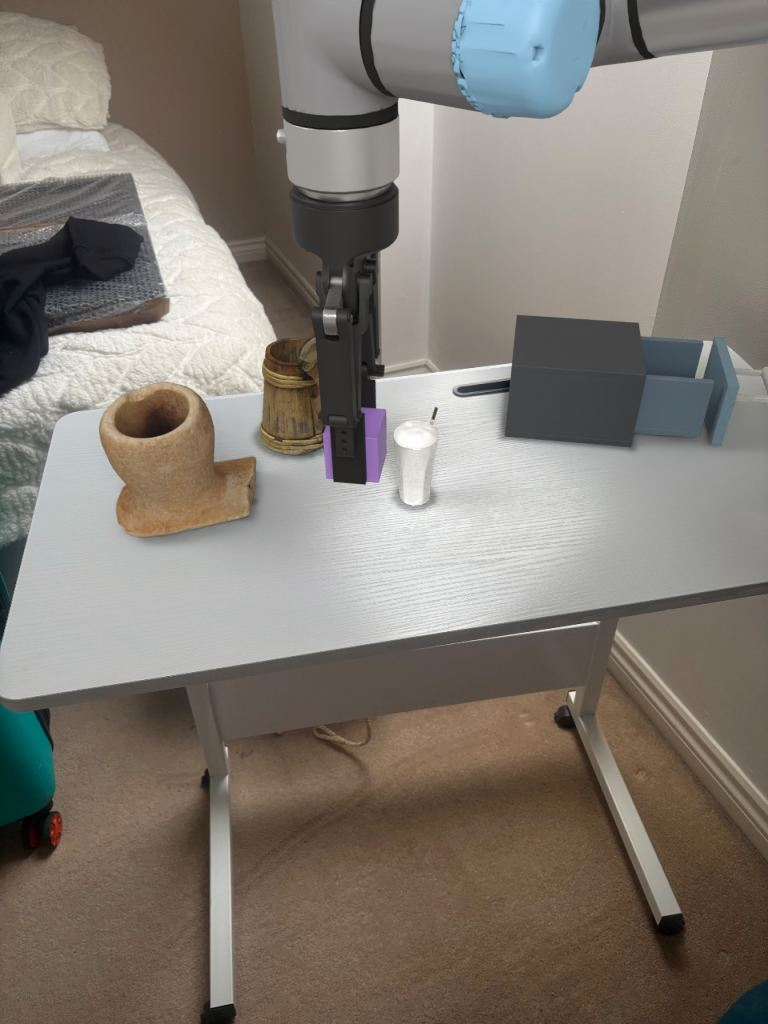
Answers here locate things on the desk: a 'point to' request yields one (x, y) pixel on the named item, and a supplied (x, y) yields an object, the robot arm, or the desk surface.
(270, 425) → the wooden mug
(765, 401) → the drawer
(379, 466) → the cube
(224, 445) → the desk surface
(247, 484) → the stone cup
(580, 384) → the cabinet
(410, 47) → the robot arm
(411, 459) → the milkshake
